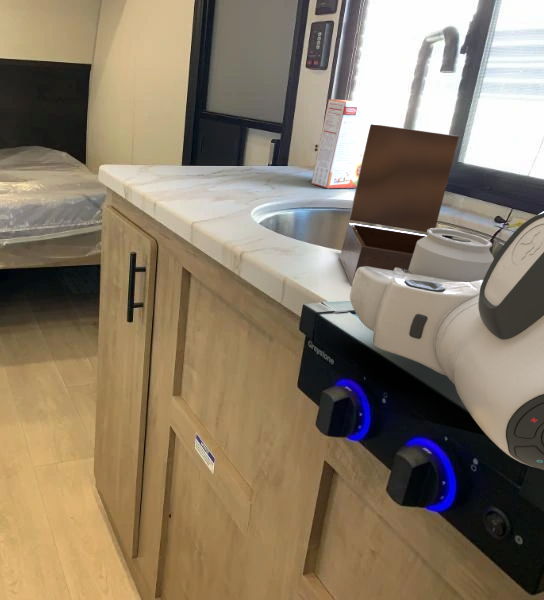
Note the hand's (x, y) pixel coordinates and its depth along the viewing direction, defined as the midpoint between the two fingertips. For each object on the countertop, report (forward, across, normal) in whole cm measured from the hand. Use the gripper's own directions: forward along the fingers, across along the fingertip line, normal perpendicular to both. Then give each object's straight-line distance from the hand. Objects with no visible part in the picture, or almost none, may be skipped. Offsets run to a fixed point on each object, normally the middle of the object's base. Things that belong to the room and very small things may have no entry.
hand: (440, 282), depth 64 cm
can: (-1, 0, +7) cm, 7 cm away
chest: (+20, 0, +6) cm, 21 cm away
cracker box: (+95, -1, +7) cm, 95 cm away
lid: (+28, 0, -7) cm, 28 cm away
